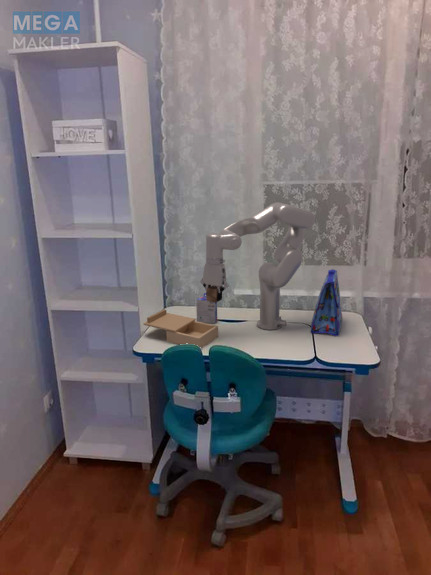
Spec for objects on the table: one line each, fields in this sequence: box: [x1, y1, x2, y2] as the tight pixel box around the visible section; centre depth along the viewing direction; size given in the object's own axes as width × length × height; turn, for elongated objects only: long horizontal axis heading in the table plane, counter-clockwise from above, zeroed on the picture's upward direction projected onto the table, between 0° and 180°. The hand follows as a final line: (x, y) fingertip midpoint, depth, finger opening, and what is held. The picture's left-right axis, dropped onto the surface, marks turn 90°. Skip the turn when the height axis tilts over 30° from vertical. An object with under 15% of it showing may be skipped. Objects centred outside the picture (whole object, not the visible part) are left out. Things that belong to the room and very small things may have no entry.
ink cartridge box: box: [195, 292, 218, 324], centre depth 234 cm, size 10×6×14 cm, turn 79°
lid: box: [143, 308, 197, 332], centre depth 220 cm, size 18×16×3 cm
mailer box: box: [165, 320, 219, 349], centre depth 215 cm, size 18×16×5 cm
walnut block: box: [207, 285, 219, 303], centre depth 214 cm, size 5×5×6 cm
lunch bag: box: [310, 269, 343, 337], centre depth 222 cm, size 22×14×29 cm, turn 161°
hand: (214, 298), depth 214 cm, fingers closed on walnut block, 5 cm apart
